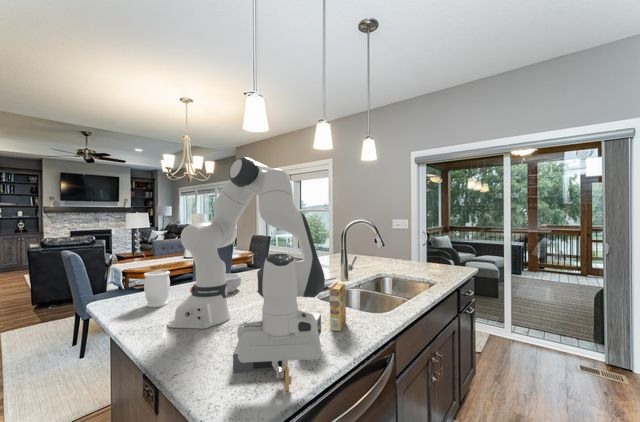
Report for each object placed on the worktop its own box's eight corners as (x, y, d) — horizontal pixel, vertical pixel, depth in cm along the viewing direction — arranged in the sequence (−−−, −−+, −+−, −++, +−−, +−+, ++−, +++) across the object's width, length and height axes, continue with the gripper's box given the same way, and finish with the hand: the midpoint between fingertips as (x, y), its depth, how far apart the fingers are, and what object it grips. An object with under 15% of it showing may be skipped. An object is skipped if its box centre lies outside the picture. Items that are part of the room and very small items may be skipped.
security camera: (317, 353, 87) (317, 320, 87) (295, 351, 89) (294, 318, 89) (321, 343, 94) (321, 312, 94) (300, 341, 95) (300, 311, 95)
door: (291, 391, 69) (291, 371, 69) (285, 391, 69) (285, 372, 69) (290, 369, 79) (290, 352, 79) (284, 369, 78) (284, 352, 78)
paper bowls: (236, 294, 149) (236, 279, 149) (206, 294, 149) (206, 279, 149) (244, 287, 164) (244, 273, 164) (217, 287, 164) (217, 273, 164)
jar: (138, 306, 131) (138, 273, 131) (159, 300, 141) (158, 269, 141) (155, 309, 127) (155, 275, 127) (175, 302, 137) (175, 271, 137)
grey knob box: (233, 372, 77) (232, 350, 77) (239, 355, 86) (238, 336, 86) (285, 369, 79) (285, 347, 79) (286, 353, 88) (286, 333, 88)
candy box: (340, 331, 103) (340, 288, 103) (329, 330, 104) (329, 288, 104) (346, 322, 111) (346, 282, 111) (335, 321, 112) (335, 282, 112)
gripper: (234, 327, 67) (234, 386, 67) (322, 324, 69) (321, 381, 69) (239, 317, 74) (239, 371, 74) (319, 314, 76) (319, 367, 76)
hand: (280, 376), depth 72 cm, fingers closed
